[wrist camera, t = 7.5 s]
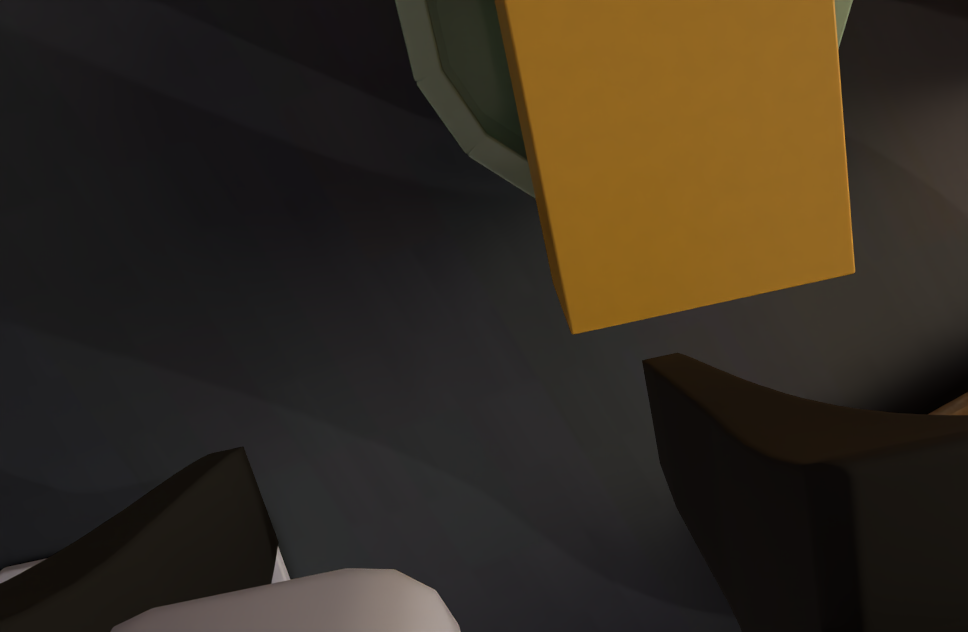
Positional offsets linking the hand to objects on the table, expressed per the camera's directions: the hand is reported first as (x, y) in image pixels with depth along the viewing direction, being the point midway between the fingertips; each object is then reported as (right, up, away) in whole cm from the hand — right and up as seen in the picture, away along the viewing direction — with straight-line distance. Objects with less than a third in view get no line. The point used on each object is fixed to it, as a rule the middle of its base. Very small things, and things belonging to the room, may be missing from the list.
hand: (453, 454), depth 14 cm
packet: (+3, +9, +1) cm, 9 cm away
